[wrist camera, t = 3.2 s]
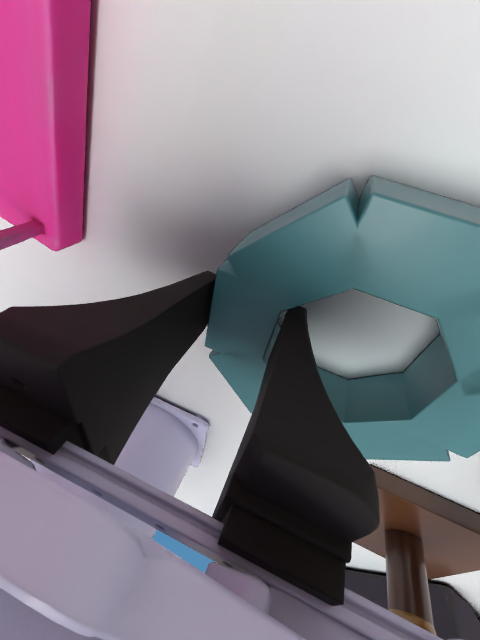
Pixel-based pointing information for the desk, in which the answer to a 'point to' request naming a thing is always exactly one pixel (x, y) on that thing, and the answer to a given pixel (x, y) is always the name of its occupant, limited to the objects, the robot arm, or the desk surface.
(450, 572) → the ring toss peg stand
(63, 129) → the file sorter
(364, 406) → the teal ring
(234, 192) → the desk surface
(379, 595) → the red black flat box
